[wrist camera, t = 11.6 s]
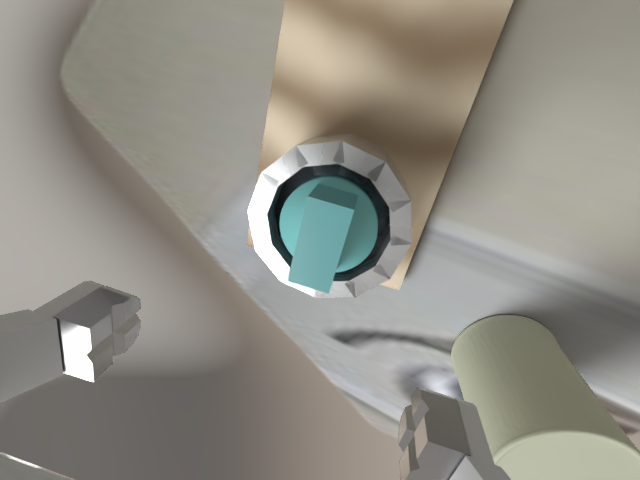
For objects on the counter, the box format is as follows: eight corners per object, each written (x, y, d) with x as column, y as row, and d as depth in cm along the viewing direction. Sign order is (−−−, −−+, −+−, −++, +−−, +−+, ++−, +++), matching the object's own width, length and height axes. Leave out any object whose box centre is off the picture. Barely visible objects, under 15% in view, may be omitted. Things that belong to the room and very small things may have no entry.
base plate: (311, -114, 21) (306, -130, 19) (533, -66, 20) (544, -79, 18) (252, 238, 31) (246, 245, 29) (398, 282, 30) (398, 290, 28)
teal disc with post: (296, 162, 20) (274, 176, 16) (390, 189, 20) (393, 210, 16) (278, 247, 23) (255, 278, 18) (362, 273, 22) (357, 311, 18)
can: (430, 359, 32) (455, 488, 21) (501, 295, 28) (576, 412, 17) (503, 408, 33) (565, 558, 22) (582, 352, 29) (705, 499, 18)
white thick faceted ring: (357, 105, 23) (348, 103, 17) (428, 215, 25) (444, 250, 19) (257, 182, 27) (218, 205, 20) (327, 273, 29) (311, 320, 22)
